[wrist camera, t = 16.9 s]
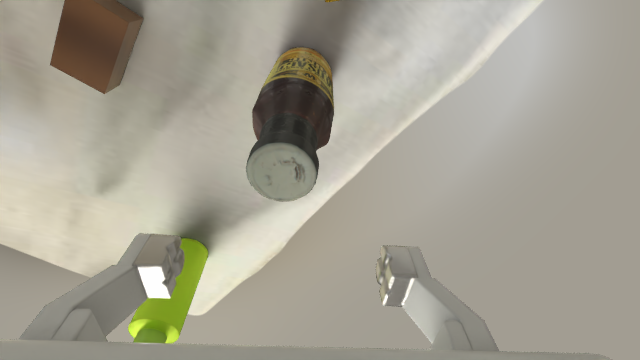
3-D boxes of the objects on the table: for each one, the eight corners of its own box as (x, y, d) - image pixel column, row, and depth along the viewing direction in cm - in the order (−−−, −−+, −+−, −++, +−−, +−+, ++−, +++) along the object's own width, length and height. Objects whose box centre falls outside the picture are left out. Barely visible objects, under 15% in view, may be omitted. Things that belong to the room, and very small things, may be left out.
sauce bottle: (340, 59, 33) (369, 153, 17) (316, 110, 36) (320, 231, 20) (283, 31, 31) (251, 105, 15) (262, 87, 34) (218, 198, 18)
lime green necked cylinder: (221, 253, 49) (175, 399, 32) (188, 268, 51) (128, 413, 34) (195, 230, 46) (129, 376, 30) (160, 247, 48) (81, 394, 31)
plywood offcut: (119, 85, 34) (104, 94, 31) (69, 57, 32) (49, 64, 30) (143, 18, 30) (128, 22, 28) (89, -18, 29) (68, -16, 26)
